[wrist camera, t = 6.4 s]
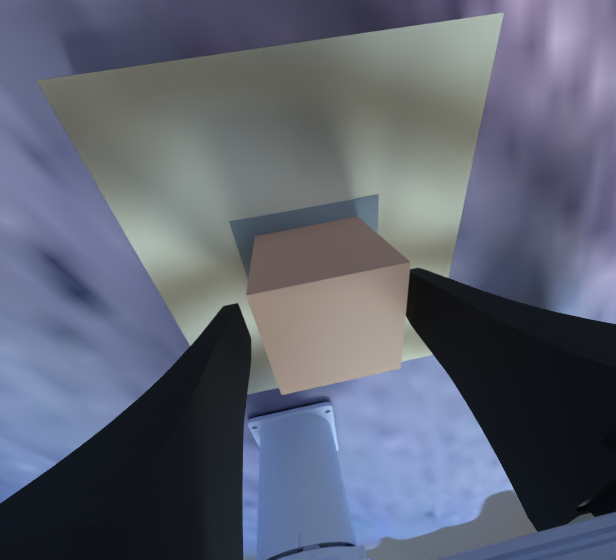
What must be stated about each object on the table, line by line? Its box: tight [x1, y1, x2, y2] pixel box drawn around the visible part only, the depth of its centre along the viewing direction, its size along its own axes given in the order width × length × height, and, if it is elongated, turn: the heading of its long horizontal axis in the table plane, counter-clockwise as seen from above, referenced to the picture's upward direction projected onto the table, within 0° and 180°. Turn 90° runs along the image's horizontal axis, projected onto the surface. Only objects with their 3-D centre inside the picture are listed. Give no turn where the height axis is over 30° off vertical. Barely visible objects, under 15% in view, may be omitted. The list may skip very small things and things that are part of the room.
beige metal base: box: [36, 13, 504, 395], centre depth 13 cm, size 18×16×2 cm
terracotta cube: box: [246, 216, 411, 395], centre depth 10 cm, size 5×5×5 cm
